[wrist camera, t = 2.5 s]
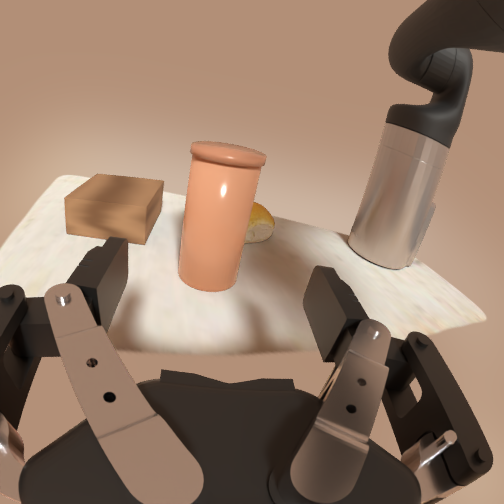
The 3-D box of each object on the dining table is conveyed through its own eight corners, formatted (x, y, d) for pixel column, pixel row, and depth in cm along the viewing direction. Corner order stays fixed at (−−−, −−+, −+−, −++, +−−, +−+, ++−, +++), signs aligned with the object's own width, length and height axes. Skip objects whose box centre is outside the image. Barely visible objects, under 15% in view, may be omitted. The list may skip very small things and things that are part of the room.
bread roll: (239, 211, 41) (245, 184, 39) (281, 240, 35) (290, 210, 34) (187, 215, 36) (191, 185, 34) (224, 250, 30) (231, 215, 29)
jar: (237, 261, 29) (261, 149, 23) (240, 296, 24) (272, 163, 19) (179, 253, 28) (195, 138, 22) (172, 288, 23) (187, 149, 18)
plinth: (161, 211, 35) (164, 180, 33) (144, 244, 27) (146, 207, 26) (96, 203, 34) (97, 173, 32) (66, 233, 26) (64, 197, 24)
